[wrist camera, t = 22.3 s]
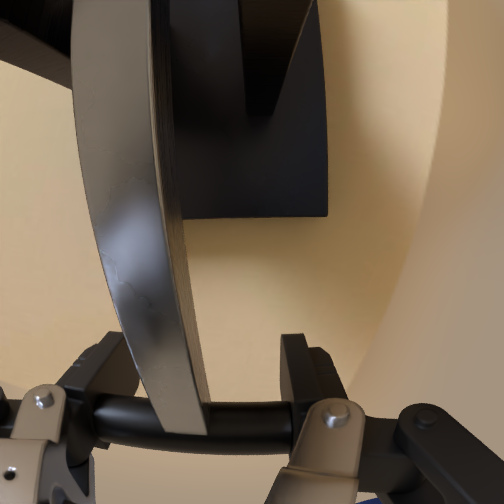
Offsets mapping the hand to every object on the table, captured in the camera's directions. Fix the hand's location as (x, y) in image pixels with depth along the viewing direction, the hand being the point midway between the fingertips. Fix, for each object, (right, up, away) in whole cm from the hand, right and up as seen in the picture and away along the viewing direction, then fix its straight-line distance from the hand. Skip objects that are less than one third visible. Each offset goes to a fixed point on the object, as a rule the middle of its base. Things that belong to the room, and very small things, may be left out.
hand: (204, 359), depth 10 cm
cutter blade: (0, +5, -5) cm, 7 cm away
